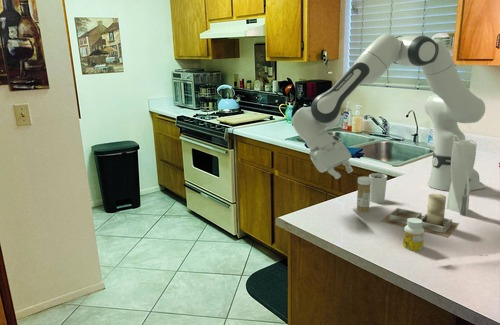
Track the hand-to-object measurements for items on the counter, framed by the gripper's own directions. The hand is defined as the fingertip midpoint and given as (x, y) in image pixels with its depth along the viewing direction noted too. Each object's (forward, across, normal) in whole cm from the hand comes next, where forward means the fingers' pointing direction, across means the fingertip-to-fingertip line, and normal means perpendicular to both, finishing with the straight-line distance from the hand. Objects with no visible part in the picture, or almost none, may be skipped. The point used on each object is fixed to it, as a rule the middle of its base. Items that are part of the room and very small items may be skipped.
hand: (345, 174), depth 146 cm
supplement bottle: (+32, -18, -13) cm, 39 cm away
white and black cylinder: (+14, +16, +6) cm, 22 cm away
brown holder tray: (+29, 0, -10) cm, 30 cm away
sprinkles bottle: (+15, 0, +4) cm, 15 cm away
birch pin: (+31, 0, -14) cm, 34 cm away
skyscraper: (+34, +19, -14) cm, 41 cm away
